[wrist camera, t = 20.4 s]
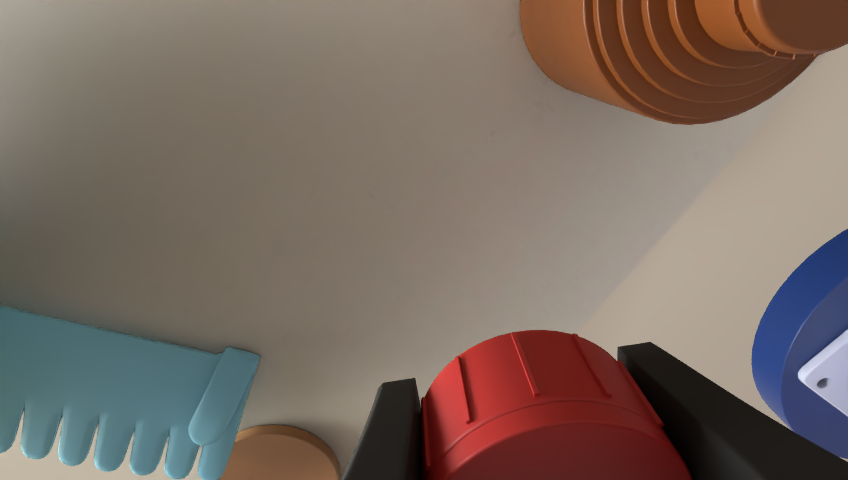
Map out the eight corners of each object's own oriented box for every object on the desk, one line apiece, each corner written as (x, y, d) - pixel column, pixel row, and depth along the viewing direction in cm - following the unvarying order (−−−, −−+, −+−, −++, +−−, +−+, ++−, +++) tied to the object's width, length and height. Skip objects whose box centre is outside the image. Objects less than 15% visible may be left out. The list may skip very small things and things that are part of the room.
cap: (654, 331, 8) (733, 424, 6) (605, 493, 10) (656, 608, 8) (426, 325, 8) (435, 419, 6) (413, 493, 9) (416, 611, 8)
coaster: (363, 458, 23) (362, 468, 23) (300, 528, 25) (298, 539, 25) (252, 404, 22) (248, 414, 21) (193, 484, 24) (188, 495, 23)
